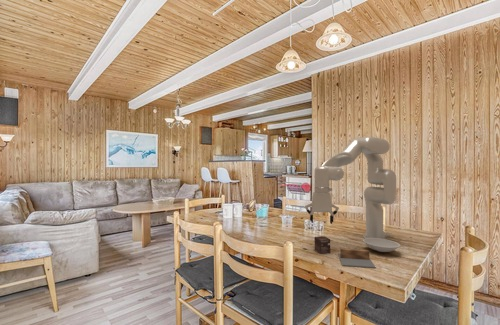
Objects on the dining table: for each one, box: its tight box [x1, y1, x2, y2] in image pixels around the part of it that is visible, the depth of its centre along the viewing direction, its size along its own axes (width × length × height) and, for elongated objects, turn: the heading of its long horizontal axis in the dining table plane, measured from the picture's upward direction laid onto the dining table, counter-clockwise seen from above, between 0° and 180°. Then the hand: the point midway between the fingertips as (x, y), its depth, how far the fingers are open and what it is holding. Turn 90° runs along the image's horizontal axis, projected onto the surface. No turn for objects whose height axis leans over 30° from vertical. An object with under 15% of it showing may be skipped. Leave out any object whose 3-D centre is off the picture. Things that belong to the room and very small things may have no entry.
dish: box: [362, 238, 401, 253], centre depth 132 cm, size 18×14×5 cm
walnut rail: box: [339, 248, 370, 260], centre depth 122 cm, size 13×2×4 cm, turn 79°
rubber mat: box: [337, 253, 377, 269], centre depth 120 cm, size 14×14×1 cm
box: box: [314, 235, 331, 255], centre depth 133 cm, size 6×6×7 cm
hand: (321, 222), depth 132 cm, fingers open, 9 cm apart
